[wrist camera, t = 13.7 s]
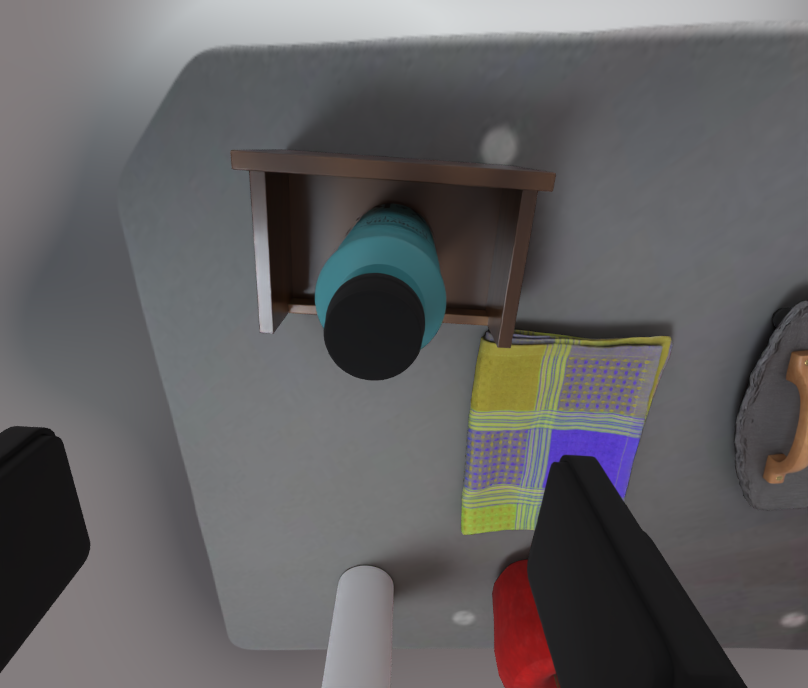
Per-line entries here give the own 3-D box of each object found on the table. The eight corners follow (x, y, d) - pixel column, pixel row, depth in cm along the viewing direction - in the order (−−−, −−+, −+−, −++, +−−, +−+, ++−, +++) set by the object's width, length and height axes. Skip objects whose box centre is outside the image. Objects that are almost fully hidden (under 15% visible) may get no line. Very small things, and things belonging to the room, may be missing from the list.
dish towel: (451, 520, 51) (453, 539, 48) (481, 315, 41) (486, 326, 39) (605, 529, 51) (615, 549, 49) (671, 329, 42) (688, 341, 39)
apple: (494, 612, 57) (518, 743, 44) (471, 556, 53) (491, 681, 40) (578, 593, 55) (628, 723, 43) (561, 533, 51) (610, 657, 39)
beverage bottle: (435, 279, 37) (463, 409, 18) (354, 283, 37) (301, 417, 19) (432, 194, 34) (461, 249, 16) (345, 200, 34) (273, 260, 16)
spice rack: (289, 295, 40) (245, 350, 29) (284, 149, 36) (229, 149, 25) (490, 308, 41) (520, 367, 30) (511, 165, 36) (556, 172, 25)
